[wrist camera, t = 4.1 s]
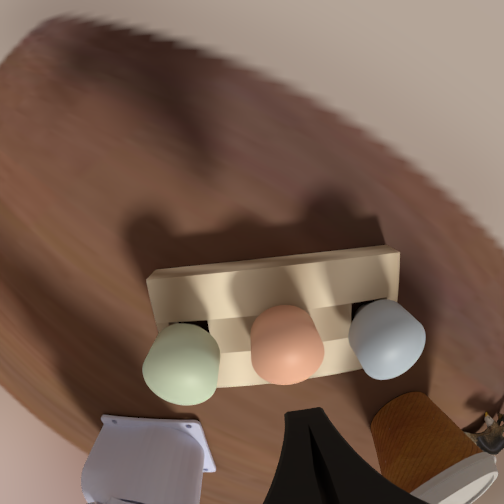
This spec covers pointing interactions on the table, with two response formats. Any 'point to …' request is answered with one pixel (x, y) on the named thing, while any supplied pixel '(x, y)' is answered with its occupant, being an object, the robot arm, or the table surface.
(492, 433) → the eagle figurine
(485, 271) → the table surface
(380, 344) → the slate button
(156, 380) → the sage button
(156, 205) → the table surface
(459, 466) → the disposable coffee cup
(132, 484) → the robot arm
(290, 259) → the button board
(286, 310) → the peach round knob
